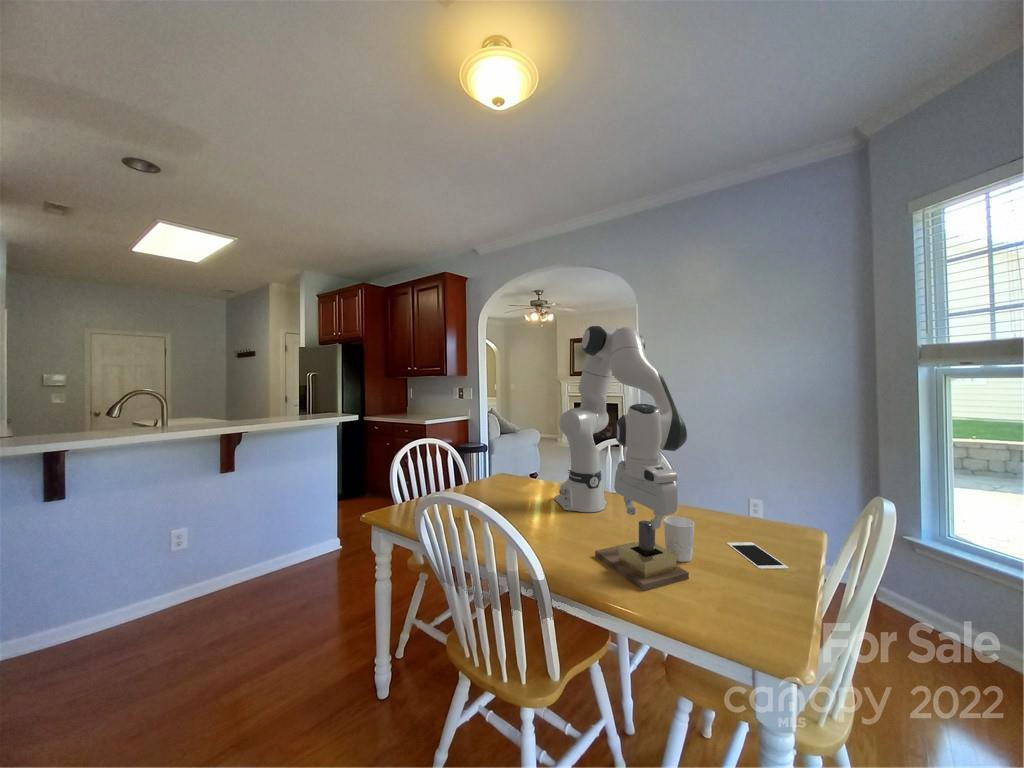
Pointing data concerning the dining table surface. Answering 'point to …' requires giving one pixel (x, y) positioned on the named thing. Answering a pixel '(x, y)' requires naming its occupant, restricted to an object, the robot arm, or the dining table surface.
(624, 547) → the square brass washer
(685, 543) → the white cup
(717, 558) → the dining table surface
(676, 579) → the walnut board
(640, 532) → the steel pin
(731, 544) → the cell phone
